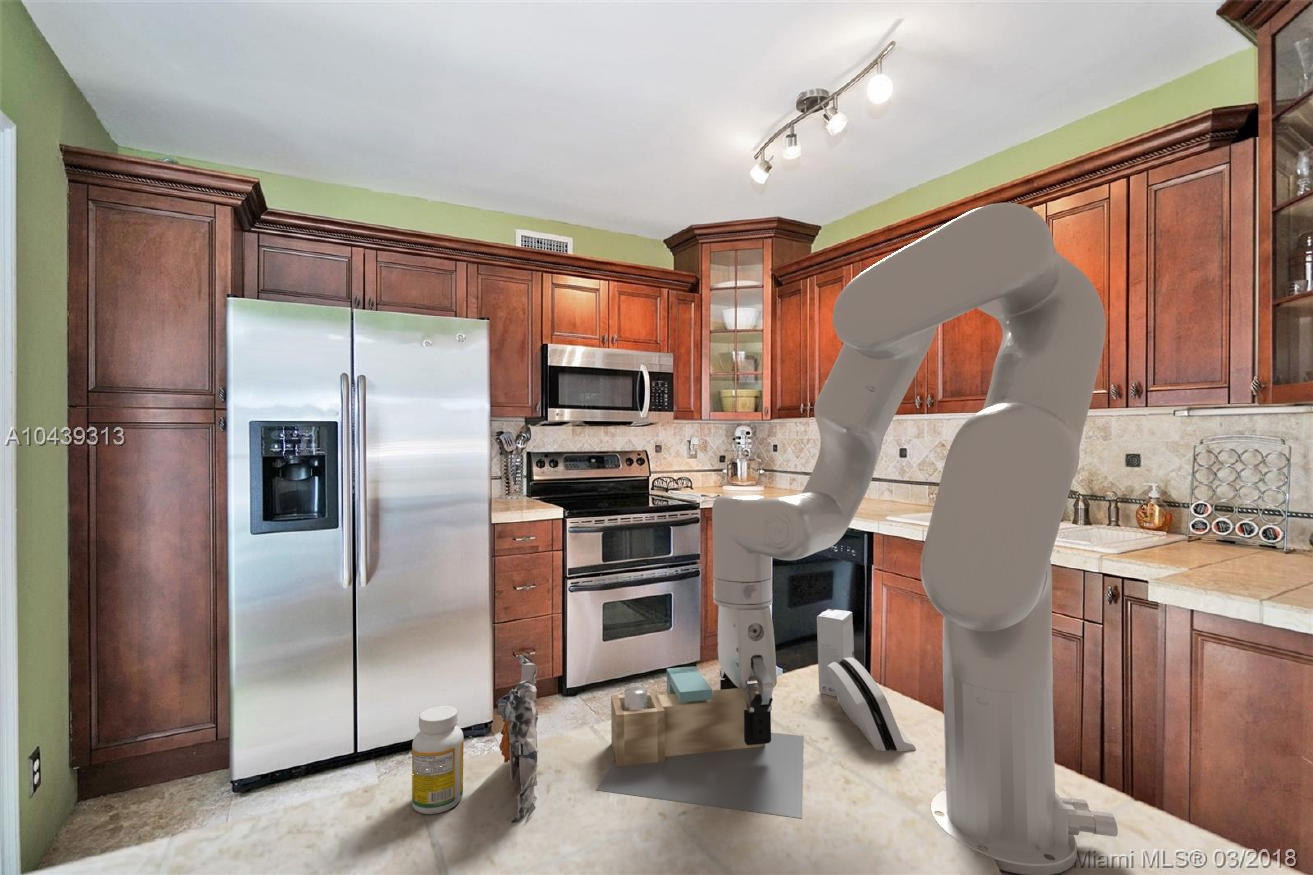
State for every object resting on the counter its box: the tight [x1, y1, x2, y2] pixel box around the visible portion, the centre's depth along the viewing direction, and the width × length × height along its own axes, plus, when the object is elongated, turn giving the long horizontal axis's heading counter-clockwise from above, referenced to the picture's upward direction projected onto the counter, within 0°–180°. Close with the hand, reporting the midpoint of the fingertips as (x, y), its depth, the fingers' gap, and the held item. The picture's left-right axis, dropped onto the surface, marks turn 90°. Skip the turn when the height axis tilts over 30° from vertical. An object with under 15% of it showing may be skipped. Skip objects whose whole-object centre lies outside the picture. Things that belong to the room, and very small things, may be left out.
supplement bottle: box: [411, 705, 465, 815], centre depth 66 cm, size 5×5×10 cm
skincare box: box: [816, 608, 855, 698], centre depth 96 cm, size 6×4×12 cm
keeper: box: [666, 665, 713, 702], centre depth 76 cm, size 4×8×8 cm, turn 11°
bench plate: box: [595, 732, 805, 819], centre depth 71 cm, size 22×18×1 cm
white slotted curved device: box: [827, 657, 917, 752], centre depth 82 cm, size 17×5×10 cm, turn 0°
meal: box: [495, 654, 539, 823], centre depth 67 cm, size 15×4×13 cm, turn 11°
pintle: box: [624, 685, 648, 711], centre depth 74 cm, size 3×3×8 cm
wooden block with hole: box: [610, 688, 765, 766], centre depth 75 cm, size 19×6×6 cm, turn 101°
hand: (744, 725), depth 76 cm, fingers open, 9 cm apart
